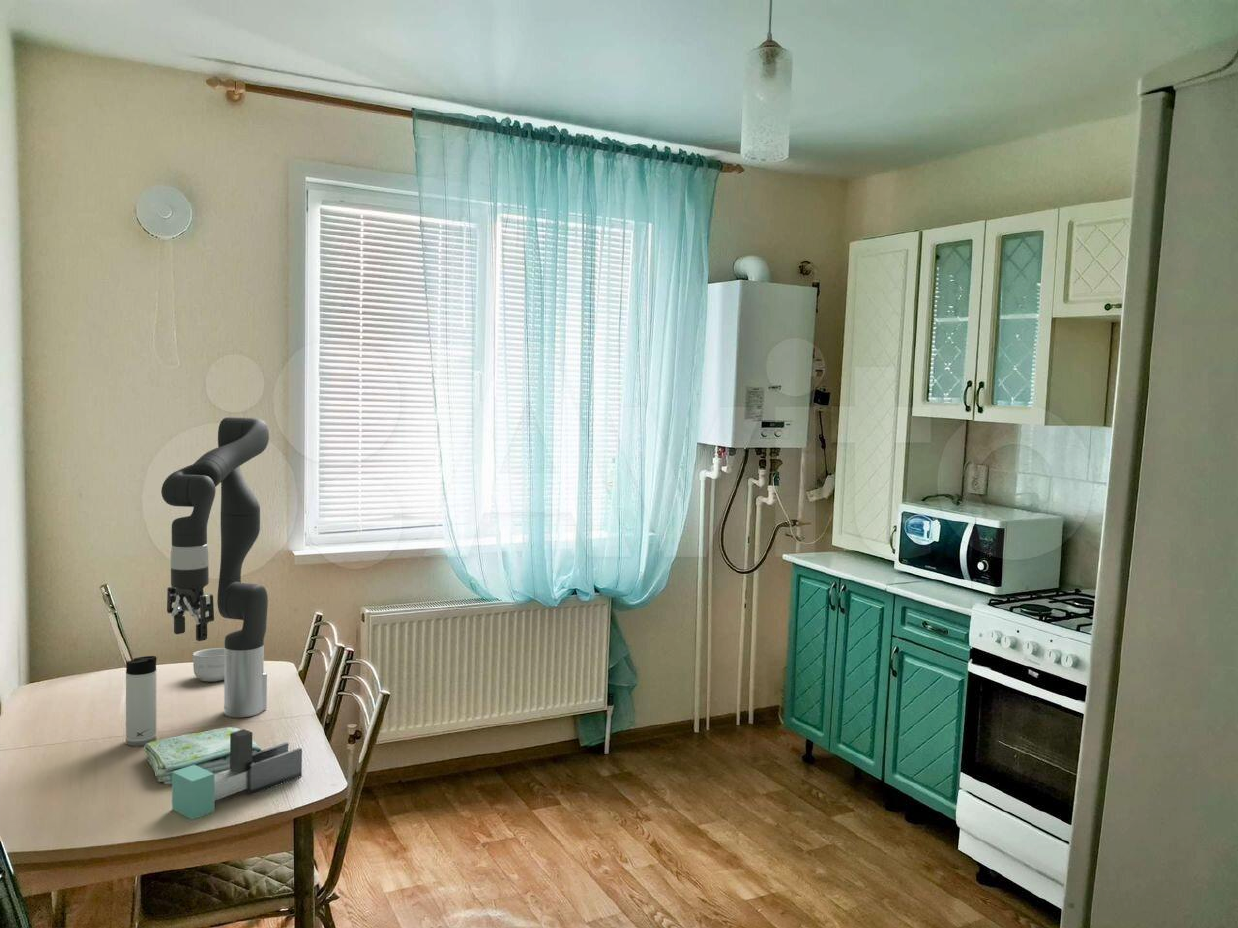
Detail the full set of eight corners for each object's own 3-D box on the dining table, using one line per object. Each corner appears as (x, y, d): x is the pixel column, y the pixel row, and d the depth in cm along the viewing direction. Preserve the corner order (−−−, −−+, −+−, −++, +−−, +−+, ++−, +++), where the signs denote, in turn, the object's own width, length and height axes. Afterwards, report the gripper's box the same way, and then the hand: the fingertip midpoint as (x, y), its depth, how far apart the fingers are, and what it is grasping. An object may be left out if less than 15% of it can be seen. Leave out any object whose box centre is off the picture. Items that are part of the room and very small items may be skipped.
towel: (141, 759, 199) (141, 737, 198) (241, 740, 211) (241, 719, 211) (157, 789, 184) (157, 765, 184) (264, 767, 197) (264, 744, 197)
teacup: (184, 682, 250) (184, 654, 250) (208, 671, 261) (208, 644, 260) (230, 687, 248) (230, 658, 247) (252, 675, 259) (252, 648, 258)
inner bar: (251, 778, 187) (251, 725, 186) (261, 782, 185) (262, 729, 184) (186, 801, 175) (186, 745, 175) (197, 806, 173) (197, 750, 173)
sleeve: (286, 769, 195) (286, 742, 195) (301, 776, 192) (301, 748, 192) (235, 787, 185) (235, 759, 185) (251, 795, 182) (251, 765, 182)
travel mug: (144, 747, 204) (144, 661, 203) (119, 744, 205) (119, 659, 204) (163, 738, 210) (163, 654, 209) (139, 735, 211) (139, 652, 210)
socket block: (194, 801, 179) (194, 764, 178) (214, 811, 175) (214, 773, 174) (172, 809, 175) (172, 771, 174) (192, 819, 171) (192, 781, 170)
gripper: (224, 566, 196) (225, 638, 198) (187, 558, 204) (188, 627, 205) (192, 571, 190) (192, 646, 191) (155, 562, 198) (156, 634, 199)
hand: (190, 636), depth 198 cm, fingers open, 8 cm apart
